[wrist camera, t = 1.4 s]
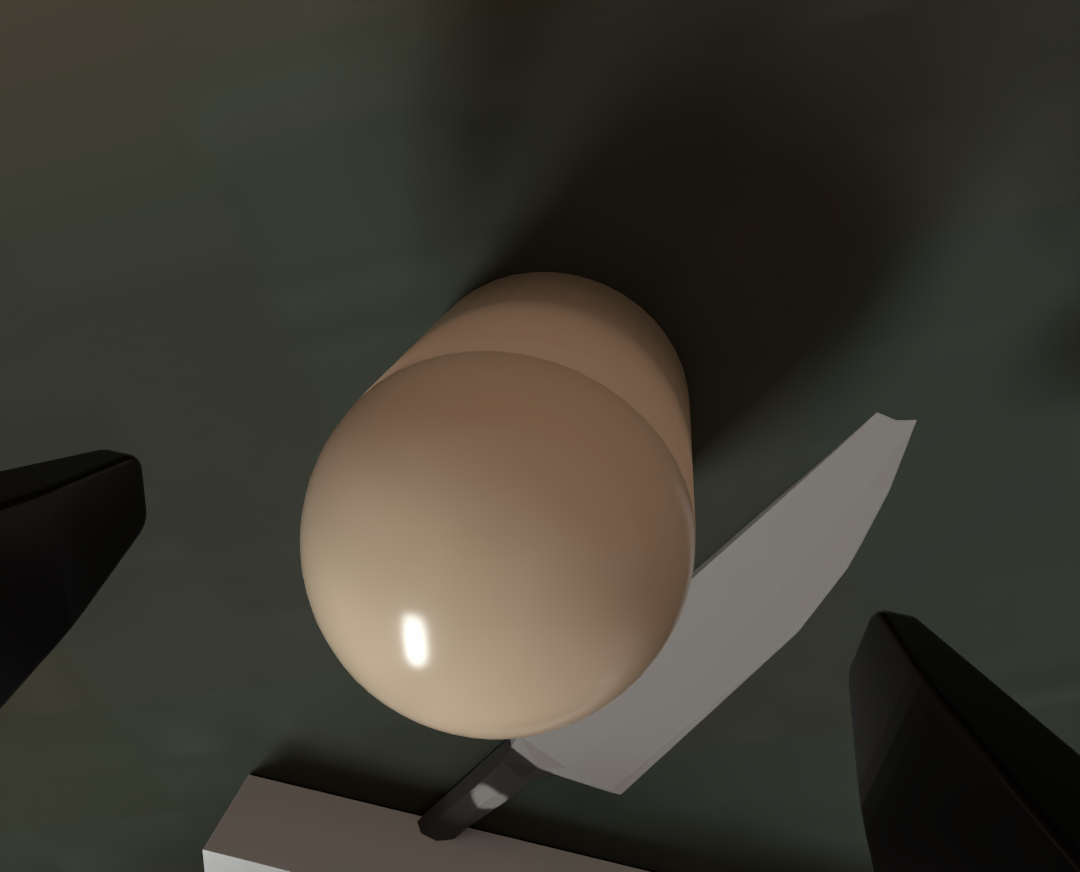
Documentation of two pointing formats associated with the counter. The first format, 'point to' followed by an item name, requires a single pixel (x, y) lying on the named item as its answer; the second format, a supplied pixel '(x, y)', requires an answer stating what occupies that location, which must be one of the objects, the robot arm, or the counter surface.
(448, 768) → the counter surface
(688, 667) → the chef's knife
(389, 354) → the counter surface
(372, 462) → the tan egg
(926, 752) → the robot arm
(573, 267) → the counter surface
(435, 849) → the egg carton
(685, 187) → the counter surface
